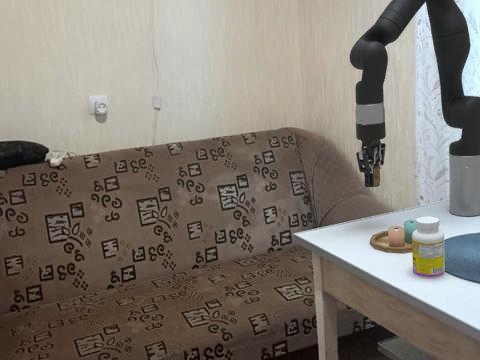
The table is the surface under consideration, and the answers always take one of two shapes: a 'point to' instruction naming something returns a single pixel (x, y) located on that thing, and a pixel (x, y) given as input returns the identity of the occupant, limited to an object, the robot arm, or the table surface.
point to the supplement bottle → (428, 248)
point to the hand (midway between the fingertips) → (372, 184)
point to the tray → (387, 244)
